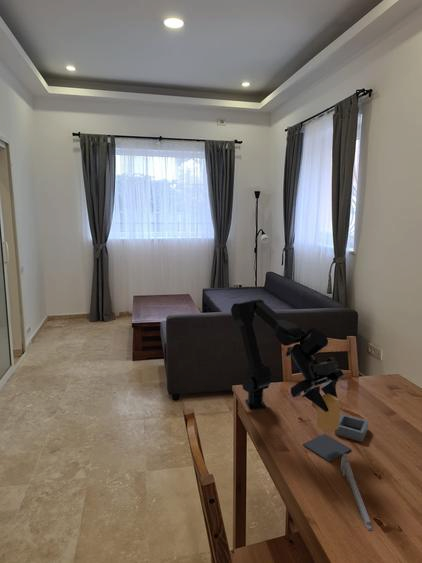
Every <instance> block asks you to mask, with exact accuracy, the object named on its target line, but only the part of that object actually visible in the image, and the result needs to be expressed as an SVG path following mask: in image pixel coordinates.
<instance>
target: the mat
mask: <svg viewBox="0 0 422 563" xmlns="http://www.w3.org/2000/svg"><path fill="white" fill-rule="evenodd" d="M302 446H303V447H305V448H306V449H308V450H309V451H311V452H313V453H314V454H315V455H317V456H319V457H320V458H321V459H323V460H325V461H326V462H328V463H332V462H333V461H335V460H336V459H339V458H340V457H342V455H343V454H348V453H350V452H351V451H352V448H350V447H349V446H347V445H345V444H343V443H342V442H340V441H338V440H336V439H335V438H333V437H331V436H330V435H328V434H326V433H322V434H321V435H318V436H317V437H315V438H313V439H310V440H308V441H306V442H304V443H302Z"/></svg>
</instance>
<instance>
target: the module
mask: <svg viewBox="0 0 422 563" xmlns="http://www.w3.org/2000/svg"><path fill="white" fill-rule="evenodd" d="M321 396H322V398H323V400H324V402H325V403H326V405H327V408H328V411H327V412H325V411H324V410H322V409H321V408H320V407H319V406H317V417H316V427H317V428H319V429H321V430H322V431H324V432H326V433H327V434H331V433H332V432H335V430H337V429H339V418H340V416H341V415H340V414H341V402H342V400H341V398H339V397H338V396H337V397H335V396H333V395H331V394H329V393H328V394H325V393H324V394H322V395H321Z"/></svg>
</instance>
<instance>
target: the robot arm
mask: <svg viewBox="0 0 422 563" xmlns="http://www.w3.org/2000/svg"><path fill="white" fill-rule="evenodd" d="M230 314H231V315H232V319H233V322H235V323H236V325H237V326H238V327H239V328H240V334H241V337H242V341H243V345H244V349H245V350H244V351H245V354H246V357H247V362H248V367H247V372H246V377H247V379H245V381H244V382H242V383H241V384H242V385H241V386H242V390H244V391H245V392H246V393H247V399H245V401H246V402H245V403H246V405H247V407H248V409H262V408H264V409H265V408H267V405H266V404H265V402H264V390H266V389H269V387H270V384H271V382H272V373H271V370H270V367H269V365H266V364H264V362H263V360H262V357H261V356H262V355H261V352H260V348H259V344H258V340H257V336H256V332H255V327H254V321H255V317H256V316H258V318H259V319H261V320H262V321H263V322H264V323H265V324H266V325H267V326H269V328H270V329H272V330H273V332H274V336H275V338H276V339H277V340H278V342H279V343H280V345H282V346H289V347H287V349H286V353H285V356H286V357H290V356H291V357H292V359H293V361H294V362H295V364H296V367H297V368H298V369H297V370H296V372H297V373H298V374H301V375H302V377H303V378H304V379H303V380H300V381H298V382H297V383H295V384H294V385H292V386H291V387H290V394H291V396H292V398H296V397H299V396H301V394H302V393H303V394H302V398H306V399H307V400H309V401H311V402H312V403H313V404H315V406H317V407H318V406H319V407H320V408H321V409H322V410H324V411H325V412H327V411H328V408H327V405H326V403H325V402H324V400H323V398H322V396H323V395H322V394H321V391H322V392H323V394H324V395H325V394H328V393H329V394H331V395H333V396H335V397H337V398H338V394H337V388H336V386H337V383H338V382H339V380H340V379H341V378H342V377H344V376H345V374H344V373H343V371H342V369H340V368H338V367H339V363H338V361H337V360H336V358H335V357H334V356H333V357H332V356H331V357H328V358H326V361H323V362H321V361H320V359H318V358H316V359H315V357H314V356H315V355H316V354H318V353H319V352H320V351H321V350H323V349H325V347H327V346H328V345H329V340H328V336H327V335H326V334H325V333H323V332H322V331H320V330H318V329H317V328H316V327H315V326H314V327H310V328H309V329H308V330H307V331H305V330H303V329H302V328H301V327H300V326H299V325H297V324H296V323H294V322H291V321H288V320H285V319H284V318H282V317H281V316H280V315H279V314H277V312H275V310H273V309H272V308H271V307H270V306H268V305H267V304H266V303H265V301H264V300H263V299H261V298H256V299H252V300H248V301H241V302H236V303H233V305H232V306H231V308H230ZM293 344H294V345H293ZM291 345H293V346H291ZM320 385H322V387H321V386H320Z"/></svg>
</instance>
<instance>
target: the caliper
mask: <svg viewBox="0 0 422 563" xmlns="http://www.w3.org/2000/svg"><path fill="white" fill-rule="evenodd" d="M340 462H341V463H340V471H341V472H342V477H346V479H347V483H348V484H350V485H349V486H350V487H351V491H352V493H353V496H354V499H355V502H356V505H357V507H358V509H359V512H360V516H361V517H362V521H363V523H364V525H365V526H366V530H368V531H373V527H372V524H371V519H370V517H369V514H368V511H367V508H366V506H365V504H364V501H363V498H362V495H361V493H360V490H359V487H358V485H357V482H356V480H355V476H354V473H353V470H352V467H351V465H350V463H349V457H348V453H346V454H343V455H342V456H341V460H340Z"/></svg>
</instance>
